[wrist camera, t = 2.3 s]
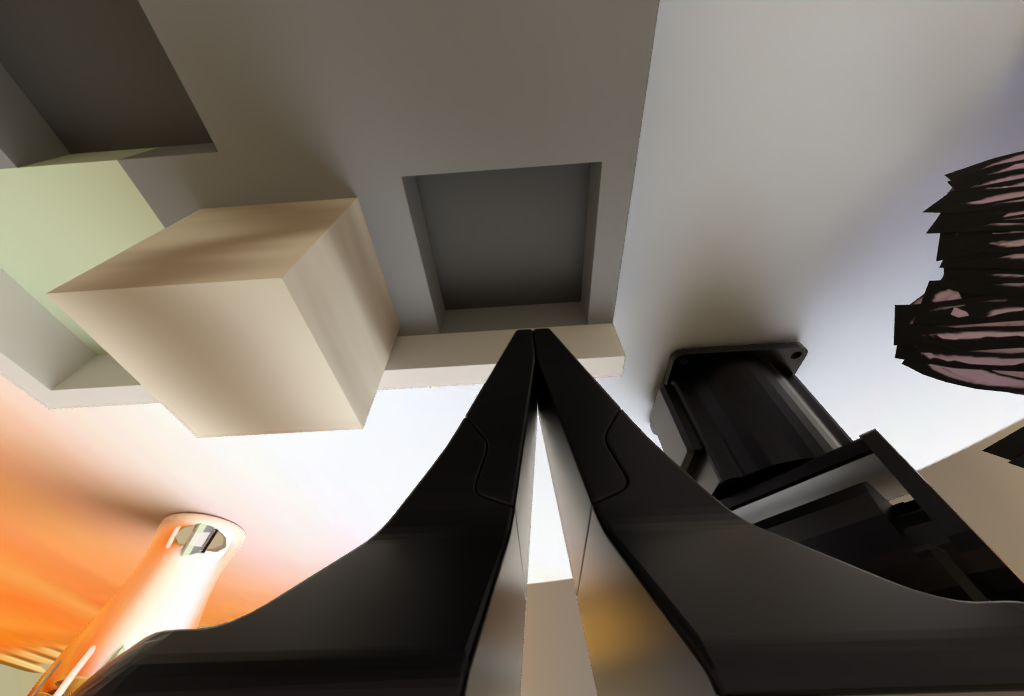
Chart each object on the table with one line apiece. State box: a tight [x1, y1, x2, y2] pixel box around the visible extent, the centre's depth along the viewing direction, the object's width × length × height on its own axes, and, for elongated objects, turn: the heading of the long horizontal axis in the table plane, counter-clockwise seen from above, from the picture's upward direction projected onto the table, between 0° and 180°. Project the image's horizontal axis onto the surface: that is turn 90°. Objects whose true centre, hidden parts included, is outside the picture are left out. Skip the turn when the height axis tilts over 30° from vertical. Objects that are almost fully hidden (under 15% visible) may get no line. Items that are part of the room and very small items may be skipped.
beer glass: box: [27, 513, 246, 696], centre depth 24 cm, size 7×7×15 cm
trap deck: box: [0, 0, 659, 409], centre depth 10 cm, size 22×16×4 cm
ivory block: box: [46, 197, 400, 438], centre depth 11 cm, size 5×5×5 cm
